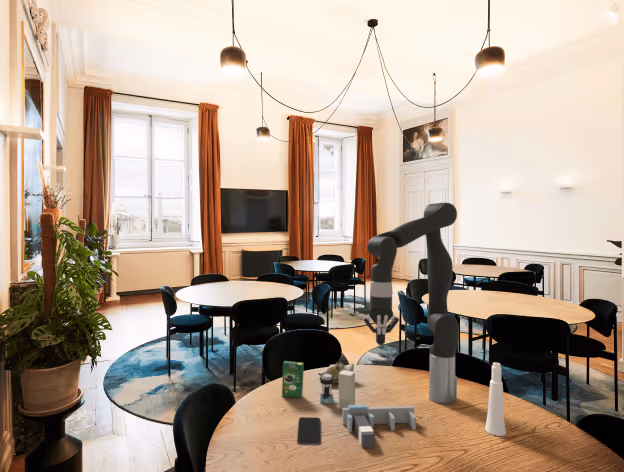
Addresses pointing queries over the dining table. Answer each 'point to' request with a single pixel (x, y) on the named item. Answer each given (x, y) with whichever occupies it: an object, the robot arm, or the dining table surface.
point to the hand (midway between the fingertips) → (380, 344)
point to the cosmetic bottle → (495, 404)
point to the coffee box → (292, 379)
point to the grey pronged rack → (380, 415)
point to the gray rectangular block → (364, 431)
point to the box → (346, 389)
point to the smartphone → (309, 431)
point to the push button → (326, 389)
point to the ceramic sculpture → (337, 370)
